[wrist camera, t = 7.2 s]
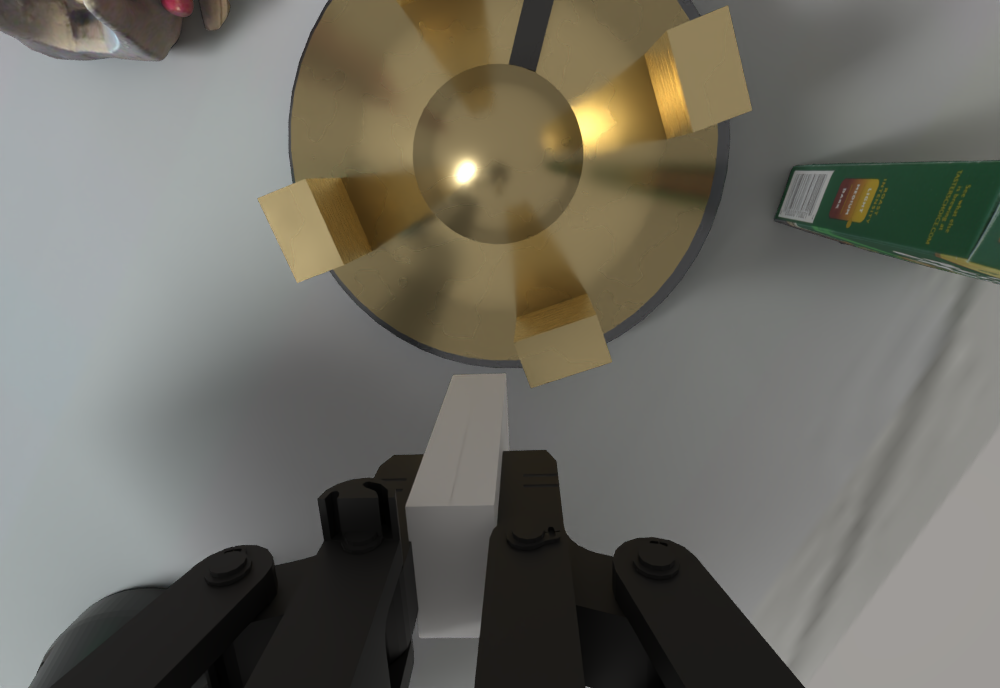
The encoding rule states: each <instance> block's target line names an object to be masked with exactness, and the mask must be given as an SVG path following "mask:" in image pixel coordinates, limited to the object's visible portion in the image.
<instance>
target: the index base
mask: <svg viewBox="0 0 1000 688" xmlns="http://www.w3.org/2000/svg"><path fill="white" fill-rule="evenodd" d="M677 1H678V3H679V4H680V6H681V7H682V9H683V10H684V12H685V13H686V15H687V16H688V18H689V20H690V21H691V20H693V19H696V18H698V17H701V16H700V14H699V13H698V11H697V9H696V8H695V6H694V5H693V3H692V2H691V0H677ZM331 2H332V0H329V1H328V2H327V3H326V5H325V7H324V9H323V10H322V12H321V14H320V16H319V18H318V20H317V21H316V23H315V25H314V27H313V29H312V31H311V33H310V35H309V38H308V40H307V43H306V46H305V48H304V51H303V53H302V56H301V59H300V61H299V65H298V69H297V73H296V77H295V81H294V85H293V90H292V96H291V105H290V113H289V158H290V166H291V174H292V181H293V184H294V183H296V182H295V177H294V169H293V162H292V154H291V117H292V108H293V99H294V92H295V87H296V83H297V79H298V75H299V71H300V67H301V63H302V60H303V58H304V55H305V53H306V50H307V47H308V45H309V42H310V40H311V37H312V35H313V33H314V31H315V29H316V27H317V25H318V23H319V22H320V20H321V18H322V16H323V14H324V12H325V10H326V9H327V7H328V6H329V4H330V3H331ZM717 125H718V144H717V156H716V168H715V173H714V177H713V182H712V187H711V192H710V197H709V199H708V202H707V205H706V208H705V211H704V214H703V217H702V220H701V223H700V225H699V227H698V229H697V231H696V234H695V236H694V238H693V240H692V242H691V244H690V246H689V248H688V250H687V251H686V253H685V255H684V256H683V258H682V259H681V261H680V262H679V264H678V265H677V267H676V269H675V270H674V272H673V273H672V274H671V276H670V277H669V278H668V279H667V280H666V282H665V283H664V284H663V285H662V286H661V287H660V289H659V290H658V291H657V292H656V293H655V295H654V296H652V297H651V298H650V299H649V300H648V301H647V302H646V303H645V304H644V305H643V306H642V307H641V308H640V309H639V310H637V311H636V312H635V313H634V314H633V315H631V316H630V317H628V318H627V319H626V320H624V321H623V322H622V323H620V324H619V325H617V326H616V327H615V328H613V329H611V330H610V331H608V332H606V333H604V334H603V335H604V338H605V342H606V343H608V342H609V341H611V340H613V339H615V338H617V337H619V336H620V335H622V334H623V333H625V332H626V331H628V330H629V329H630V328H632V327H633V326H635V325H636V324H637V323H639V322H640V321H641V320H643V319H644V318H645V317H646V316H647V315H648V314H649V313H650V312H652V311H653V310H654V309H655V308H656V307H657V306H658V305H659V304H660V303H661V302H662V301H663V300H664V299H665V298H666V297H667V296H668V295H669V293H670V292H671V291H672V290H673V289H674V288H675V286H676V285H677V284H678V283H679V282H680V280H681V279H682V278H683V276H684V275H685V273H686V272H687V270H688V269H689V267H690V266H691V264H692V263H693V261H694V260H695V258H696V257H697V255H698V253H699V251H700V249H701V247H702V245H703V243H704V241H705V239H706V237H707V235H708V233H709V231H710V229H711V226H712V223H713V221H714V218H715V215H716V212H717V209H718V206H719V203H720V201H721V196H722V192H723V187H724V182H725V178H726V173H727V167H728V155H729V144H730V127H729V119H728V120H725V121H723V122H720V123H717ZM330 272H331V274H332V275H333V277H334V278H335V279H336V281H337V282H338V284H339V285H340V286H341V287H342V288H343V290H344V291H345V292H346V293H347V294H348V295H349V296H350V297H351V299H352V300H353V301H354V302H355V303H356V304H357V305H358V306H359V307H360V308H361V309H362V310H363V311H365V312H366V313H367V314H368V315H369V316H370V317H371V318H372V319H374V320H375V321H376V322H377V323H379V324H380V325H381V326H383V327H384V328H386V329H387V330H389V331H390V332H391V333H393V334H394V335H396V336H397V337H399V338H401V339H403V340H404V341H406V342H408V343H410V344H412V345H414V346H416V347H418V348H420V349H422V350H424V351H427V352H429V353H432V354H435V355H437V356H440V357H442V358H445V359H449V360H453V361H457V362H461V363H465V364H469V365H477V366H485V367H493V368H523V366H522V364H521V361H520V360H486V359H477V358H469V357H464V356H460V355H456V354H452V353H448V352H444V351H441V350H438V349H436V348H433V347H430V346H428V345H425V344H423V343H420V342H418V341H416V340H414V339H412V338H410V337H409V336H407V335H405V334H403V333H401V332H399V331H397V330H396V329H394V328H393V327H392V326H390V325H389V324H387V323H386V322H384V321H383V320H381V319H380V318H379V317H377V316H376V315H375V314H374V313H373V312H371V311H370V310H369V309H368V308H367V307H366V306H365V305H364V304H362V303H361V302H360V301H359V300H358V299H357V298H356V297H355V296H354V295H353V294H352V292H351V291H350V290H349V289H348V288H347V287H346V286H345V285H344V283H343V282H342V281H341V280H340V279H339V277H338V276H337V274H336V273H335V272H334V270H333V269H332V270H330Z"/></svg>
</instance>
